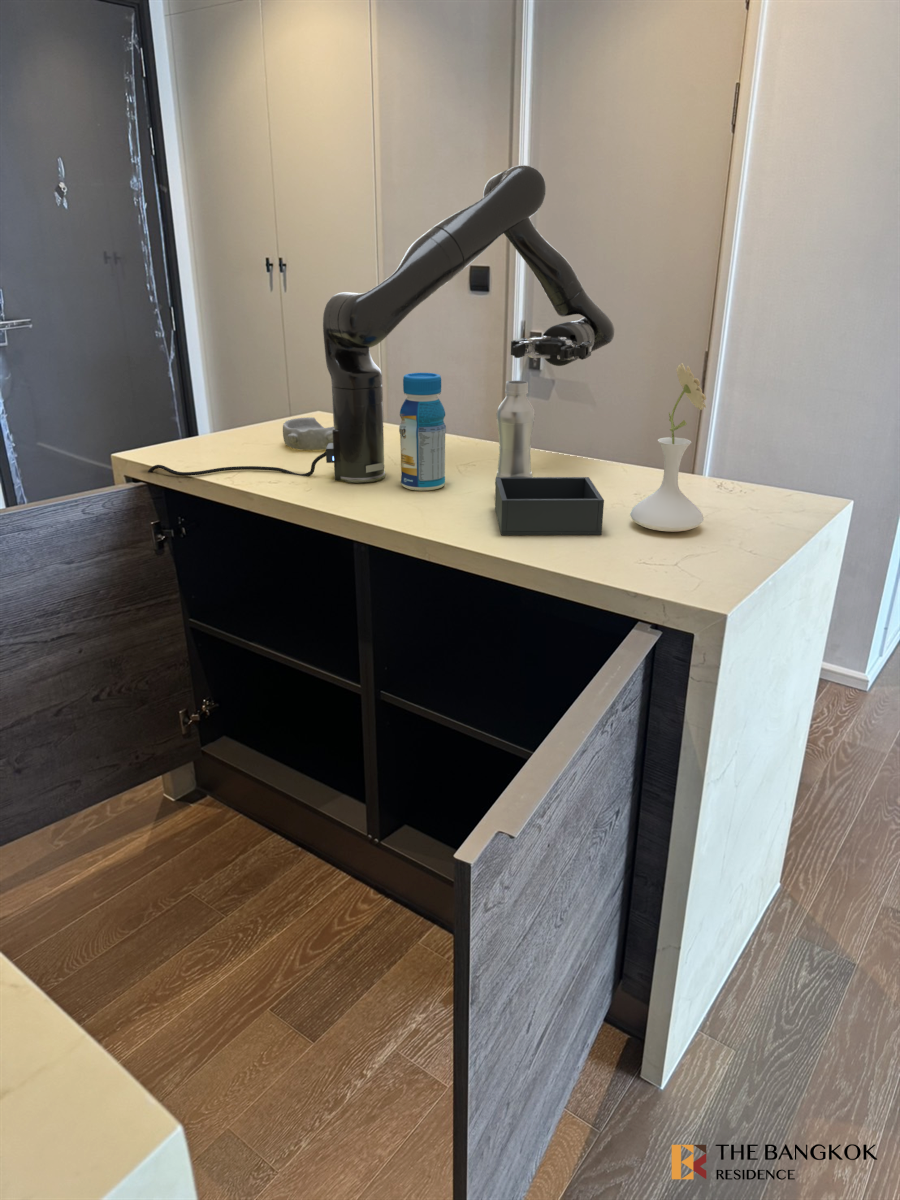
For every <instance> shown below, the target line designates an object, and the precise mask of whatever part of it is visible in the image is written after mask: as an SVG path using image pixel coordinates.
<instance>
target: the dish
mask: <svg viewBox="0 0 900 1200" xmlns="http://www.w3.org/2000/svg"><path fill="white" fill-rule="evenodd" d="M333 429H334V426H330V427H324V426H323V425H322V424H321V423H319V422H318V421H317V419H316V418H315V417H312V416H311V417H310V416H309V417H297V418H292V419H288V420H286V421H284V423H283V424H282V437H283V442H284V445H285V446H287V447H289V448H291V449H294V450H298V451H299V450H301V451H323V450H325V451H326V447H327V445H328V443H333V434H332V431H333Z"/></svg>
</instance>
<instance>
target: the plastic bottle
mask: <svg viewBox="0 0 900 1200" xmlns="http://www.w3.org/2000/svg"><path fill="white" fill-rule="evenodd" d="M504 394H506V396H505V398H504V399H503V400H502V401H501V403H500V404H499V406H498V407H497V409H496V413H495V414H496V415H495V416H496V425H497V426H496V427H497V433H498V461H497V470H496V474H495V479H494V485H495V484H496V477H500V478H501V477H534V476H533V472H532V458H531V457H532V456H531V451H532V450H531V448H532V447H531V444H532V437H533V429H534V425H535V418H536V417H535V416H536V411H535V409H534V406H533V405H532V403H531V401H530V400H529V398H528V397H527V396H528V395H529V382H528V381H527V380H507V381H506V382H505V390H504Z"/></svg>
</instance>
